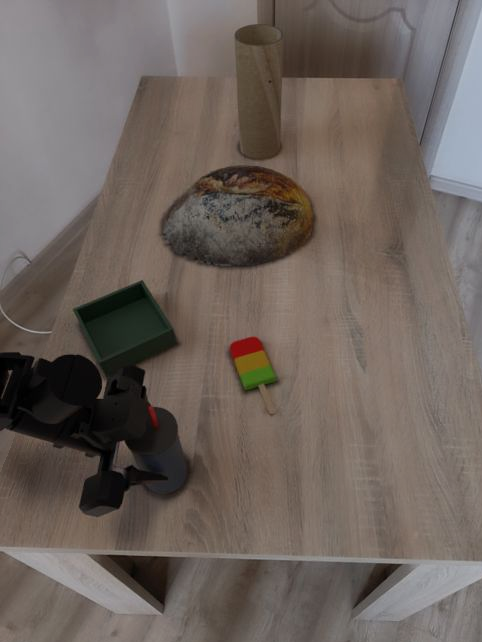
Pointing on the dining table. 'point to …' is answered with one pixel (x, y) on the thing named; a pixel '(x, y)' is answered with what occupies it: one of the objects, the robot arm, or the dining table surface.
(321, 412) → the dining table surface
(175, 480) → the cup with straw
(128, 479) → the robot arm
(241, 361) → the popsicle
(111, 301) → the bin
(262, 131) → the tube
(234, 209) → the bread
